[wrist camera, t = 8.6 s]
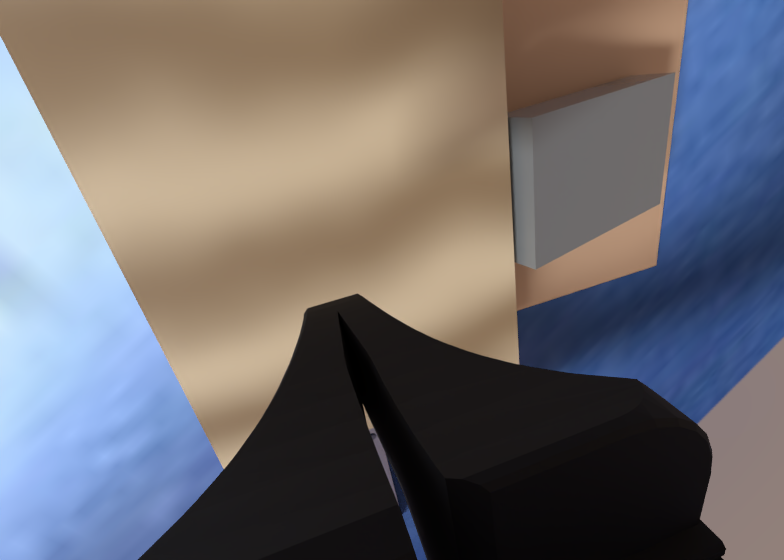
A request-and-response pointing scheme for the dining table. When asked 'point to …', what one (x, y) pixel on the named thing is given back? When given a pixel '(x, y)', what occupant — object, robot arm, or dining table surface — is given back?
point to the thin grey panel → (586, 163)
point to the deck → (283, 171)
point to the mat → (578, 72)
